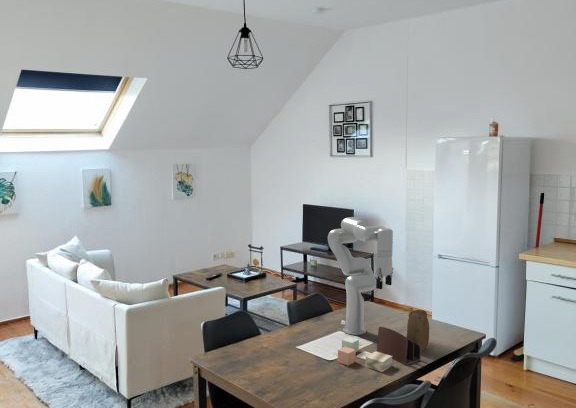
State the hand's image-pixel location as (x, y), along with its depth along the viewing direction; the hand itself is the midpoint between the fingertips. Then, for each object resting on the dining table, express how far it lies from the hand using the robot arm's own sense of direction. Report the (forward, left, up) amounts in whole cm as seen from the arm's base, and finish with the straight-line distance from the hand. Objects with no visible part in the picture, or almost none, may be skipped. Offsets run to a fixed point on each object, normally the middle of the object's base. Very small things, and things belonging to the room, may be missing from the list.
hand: (383, 286), depth 270 cm
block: (+15, +10, -32) cm, 37 cm away
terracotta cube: (-3, -27, -32) cm, 42 cm away
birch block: (+11, -21, -32) cm, 40 cm away
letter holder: (+11, -4, -32) cm, 34 cm away
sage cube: (-9, -15, -32) cm, 36 cm away
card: (+1, -15, -32) cm, 35 cm away
